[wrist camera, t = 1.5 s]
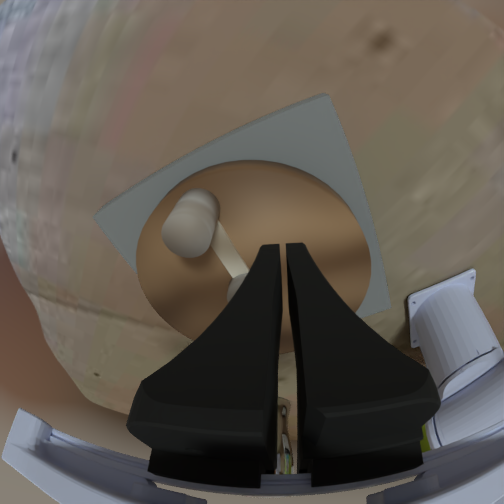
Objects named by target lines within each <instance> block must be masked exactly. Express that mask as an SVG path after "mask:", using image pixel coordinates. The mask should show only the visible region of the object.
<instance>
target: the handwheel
mask: <svg viewBox="0 0 504 504" xmlns="http://www.w3.org/2000/svg"><path fill="white" fill-rule="evenodd" d="M301 242H303V243H304V244H305V245H306V247H307V249H308V251H309V253H310V255H311V257H312V258H313V260H314V262H315V263H316V265H317V266H318V268H319V269H320V271H321V272H322V274H323V275H324V277H325V278H326V279H327V281H328V282H329V283H330V285H331V286H332V287H333V289H334V290H335V291H336V292H337V293H338V295H339V296H340V297H341V298H342V299H343V301H344V302H345V303H346V304H347V305H348V306H349V307H350V308H351V309H352V310H353V311H354V312H355V313H356V311H357V310H358V309H359V307H360V306H361V304H362V302H363V300H364V298H365V296H366V293H367V290H368V287H369V283H370V278H371V257H370V251H369V247H368V244H367V241H366V239H365V236H364V234H363V231H362V229H361V227H360V225H359V223H358V221H357V219H356V217H355V216H354V214H353V212H352V211H351V209H350V207H349V206H348V205H347V203H346V202H345V201H344V200H343V199H342V197H341V196H340V195H339V194H338V193H337V192H336V191H334V190H333V189H332V188H331V187H330V186H329V185H328V184H326V183H325V182H323V181H321V180H320V179H318V178H317V177H315V176H314V175H312V174H310V173H307V172H305V171H303V170H301V169H299V168H296V167H292V166H289V165H286V164H282V163H278V162H272V161H265V160H238V161H230V162H224V163H220V164H217V165H213V166H209V167H207V168H204V169H202V170H200V171H197V172H195V173H193V174H192V175H190V176H188V177H187V178H185V179H183V180H182V181H180V182H179V183H178V184H177V185H176V186H174V187H173V188H172V189H171V190H170V191H169V192H168V193H167V194H166V195H165V197H164V198H163V199H162V200H161V201H160V203H159V204H158V205H157V207H156V208H155V209H154V211H153V212H152V213H151V215H150V216H149V218H148V220H147V221H146V223H145V225H144V227H143V228H142V231H141V234H140V237H139V239H138V244H137V250H136V268H137V274H138V278H139V281H140V285H141V287H142V290H143V292H144V294H145V296H146V298H147V299H148V301H149V302H150V304H151V305H152V307H153V308H154V309H155V310H156V312H157V313H158V314H159V315H160V316H161V317H162V318H163V319H164V320H165V321H166V322H167V323H168V324H169V325H171V326H172V327H173V328H174V329H176V330H177V331H178V332H180V333H182V334H183V335H185V336H186V337H188V338H190V339H192V340H196V339H197V338H198V337H199V336H200V335H201V334H202V333H203V332H204V331H205V330H206V328H207V327H208V326H209V325H210V324H211V323H212V322H213V321H214V320H215V319H216V318H217V316H218V315H219V314H220V313H221V312H222V310H223V309H224V308H225V307H226V305H227V304H228V303H229V301H230V300H231V299H232V297H233V296H234V294H235V293H236V291H237V290H238V288H239V287H240V285H241V284H242V282H243V280H244V279H245V277H246V275H247V273H248V272H249V270H250V268H251V266H252V264H253V262H254V260H255V258H256V256H257V254H258V251H259V248H260V247H261V246H262V245H264V244H280V258H281V274H282V296H283V315H282V327H281V338H280V349H279V354H283V353H288V352H293V351H294V344H293V337H292V330H291V323H290V316H289V308H288V285H287V262H286V243H301Z"/></svg>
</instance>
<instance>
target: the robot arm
mask: <svg viewBox="0 0 504 504" xmlns="http://www.w3.org/2000/svg"><path fill="white" fill-rule="evenodd" d="M286 262H287V285H288V308H289V316H290V323H291V330H292V337H293V344H294V351H295V359H296V369H297V474H274V472H275V470H276V469H277V441H278V360H279V349H280V338H281V327H282V315H283V296H282V274H281V258H280V244H264V245H262V246H261V247H260V248H259V251H258V254H257V256H256V258H255V260H254V262H253V264H252V266H251V268H250V270H249V272H248V273H247V275H246V277H245V279H244V280H243V282H242V284H241V285H240V287H239V288H238V290H237V291H236V293H235V294H234V296H233V297H232V299H231V300H230V301H229V303H228V304H227V305H226V307H225V308H224V309H223V310H222V312H221V313H220V314H219V315H218V316H217V318H216V319H215V320H214V321H213V322H212V323H211V324H210V325H209V326H208V327H207V328H206V330H205V331H204V332H203V333H202V334H201V335H200V336H199V337H198V338H197V339H196V340H194V341H193V342H192V343H191V344H190V345H189V346H188V347H186V348H185V349H184V350H183V351H182V352H181V353H180V354H178V355H177V356H176V357H175V358H174V359H172V360H171V361H170V362H168V363H167V364H166V365H164V366H163V367H161V368H160V369H159V370H157V371H156V372H154V373H153V374H151V375H150V376H148V377H147V378H145V379H144V380H142V381H141V384H140V386H139V388H138V390H137V392H136V395H135V397H134V400H133V403H132V407H131V410H130V413H129V417H128V420H127V424H126V426H127V429H128V430H129V432H130V433H131V434H132V435H134V436H135V437H136V438H137V439H139V440H140V441H142V442H143V443H145V444H146V445H148V446H149V447H151V448H152V451H151V456H150V460H145V459H141V458H137V457H133V456H130V455H126V454H122V453H119V452H115V451H112V450H109V449H106V448H103V447H100V446H97V445H94V444H91V443H89V442H86V441H83V440H81V439H78V438H76V437H73V436H71V435H68V434H66V433H63V432H61V431H59V430H56V429H54V428H52V427H51V426H50V425H49V424H48V423H46V422H45V421H44V420H42V419H40V418H39V417H37V416H35V415H33V414H31V413H29V412H27V411H26V410H24V409H22V408H19V409H18V412H17V414H16V417H15V419H14V422H13V424H12V427H11V430H10V433H9V435H8V438H7V441H6V444H5V447H4V450H3V454H2V459H3V460H4V461H5V462H7V463H8V464H9V465H10V466H12V467H13V468H14V469H16V470H17V471H18V472H20V473H21V474H22V475H23V476H25V477H26V478H27V479H29V480H30V481H31V482H32V483H33V484H35V485H36V486H37V487H39V488H40V489H41V490H42V491H44V492H45V493H46V494H48V495H49V496H50V497H52V498H53V499H54V500H56V501H57V502H59V503H60V504H207V501H206V500H205V499H201V498H196V497H192V496H188V495H186V494H183V493H178V492H174V491H170V490H165V489H161V488H158V487H157V486H156V484H155V483H154V482H157V483H161V484H166V485H170V486H176V487H180V488H186V489H192V490H199V491H206V492H213V493H222V494H234V495H248V496H300V495H315V494H326V493H335V492H342V491H349V490H355V489H362V488H367V487H372V486H377V485H382V484H386V483H390V482H394V481H398V480H402V479H406V478H409V477H412V476H416V475H417V477H416V478H415V479H414V481H411V482H408V483H405V484H402V485H398V486H395V487H391V488H387V489H385V490H384V491H381V492H378V493H374V494H371V495H368V496H367V498H366V499H367V504H504V351H503V350H502V349H501V347H500V345H499V342H498V340H497V338H496V336H495V334H494V332H493V330H492V328H491V327H490V325H489V323H488V321H487V319H486V317H485V315H484V314H483V312H482V310H481V308H480V306H479V305H478V303H477V301H476V300H475V298H474V296H473V293H474V285H475V277H476V271H475V270H474V269H470V270H468V271H465V272H463V273H461V274H459V275H457V276H454V277H452V278H450V279H447V280H445V281H443V282H440V283H438V284H436V285H433V286H431V287H428V288H426V289H423V290H421V291H418V292H416V293H413V294H411V295H410V296H409V297H408V310H409V323H410V342H411V347H412V348H415V347H418V346H420V349H421V352H422V355H423V358H424V361H425V364H426V367H427V368H426V367H424V366H422V365H421V364H419V363H418V362H416V361H414V360H413V359H411V358H410V357H408V356H406V355H405V354H403V353H402V352H400V351H399V350H398V349H396V348H395V347H394V346H392V345H391V344H390V343H388V342H387V341H386V340H385V339H383V338H382V337H381V336H380V335H379V334H377V333H376V332H375V331H374V330H373V329H372V328H370V327H369V326H368V325H367V324H366V323H365V322H364V321H363V320H362V319H361V318H360V317H359V316H358V315H357V314H356V313H355V312H354V311H353V310H352V309H351V308H350V307H349V306H348V305H347V304H346V303H345V302H344V301H343V299H342V298H341V297H340V296H339V295H338V293H337V292H336V291H335V290H334V289H333V287H332V286H331V285H330V283H329V282H328V281H327V279H326V278H325V277H324V275H323V274H322V272H321V271H320V269H319V268H318V266H317V265H316V263H315V262H314V260H313V258H312V257H311V255H310V253H309V251H308V249H307V247H306V245H305V244H304V243H303V242H301V243H286ZM424 424H425V429H426V435H427V439H428V442H429V444H430V447H431V449H432V450H430V451H427V452H423V453H422V450H421V445H420V441H421V440H423V437H424V436H423V431H422V426H423V425H424ZM152 481H153V482H152Z"/></svg>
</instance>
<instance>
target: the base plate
mask: <svg viewBox="0 0 504 504" xmlns="http://www.w3.org/2000/svg"><path fill="white" fill-rule="evenodd" d="M238 160H265V161H272V162H278V163H282V164H286V165H289V166H292V167H296V168H299V169H301V170H303V171H305V172H307V173H310V174H312V175H314V176H315V177H317V178H318V179H320V180H321V181H323V182H325V183H326V184H328V185H329V186H330V187H331V188H332V189H333V190H334V191H336V192H337V193H338V194H339V195H340V196H341V197H342V199H343V200H344V201H345V202H346V203H347V205H348V206H349V207H350V209H351V211H352V212H353V214H354V216H355V217H356V219H357V221H358V223H359V225H360V227H361V229H362V231H363V234H364V236H365V239H366V241H367V244H368V247H369V251H370V257H371V278H370V283H369V287H368V290H367V293H366V296H365V298H364V300H363V302H362V304H361V306H360V307H359V309H358V310H357V311H356V314H357V315H358V316H359V317H360V318H363V317H366V316H369V315H372V314H375V313H378V312H381V311H383V310H386V309H389V308H391V303H390V298H389V292H388V287H387V281H386V276H385V271H384V266H383V262H382V257H381V253H380V248H379V244H378V240H377V236H376V232H375V228H374V224H373V220H372V217H371V213H370V209H369V206H368V202H367V199H366V196H365V192H364V189H363V186H362V182H361V179H360V176H359V173H358V170H357V167H356V164H355V161H354V158H353V155H352V153H351V150H350V147H349V144H348V141H347V139H346V136H345V133H344V131H343V128H342V126H341V123H340V121H339V118H338V116H337V113H336V111H335V108H334V106H333V104H332V101H331V99H330V97H329V95H328V94H325V93H321V94H319V95H316V96H313V97H310V98H308V99H305V100H303V101H300V102H297V103H295V104H292V105H290V106H287V107H285V108H282V109H280V110H278V111H275V112H273V113H270V114H268V115H266V116H264V117H261V118H259V119H257V120H255V121H252V122H250V123H248V124H246V125H244V126H242V127H239V128H237V129H235V130H233V131H231V132H229V133H227V134H225V135H223V136H221V137H219V138H217V139H215V140H213V141H211V142H209V143H207V144H205V145H203V146H201V147H199V148H198V149H196V150H194V151H192V152H190V153H188V154H187V155H185V156H183V157H181V158H179V159H178V160H176V161H174V162H172V163H171V164H169V165H167V166H165V167H164V168H162V169H160V170H159V171H157V172H155V173H154V174H152V175H150V176H149V177H147V178H145V179H144V180H142V181H141V182H139V183H137V184H136V185H134V186H133V187H131V188H130V189H128V190H126V191H125V192H123V193H122V194H120V195H119V196H117V197H116V198H114V199H113V200H111V201H110V202H108V203H107V204H106V205H104V206H103V207H102V208H101V209H100V210H99V211H98V212H97V213H96V214H95V215H94V216H93V218H94V220H95V221H96V223H97V224H98V225H99V227H100V228H101V229H102V231H103V232H104V233H105V235H106V236H107V237H108V239H109V240H110V241H111V242H112V244H113V245H114V246H115V248H116V249H117V250H118V251H119V253H120V254H121V255H122V256H123V258H124V259H125V260H126V261H127V263H128V264H129V265H130V266H131V268H132V269H133V270H134V271H135V272H136V274H137V268H136V250H137V244H138V239H139V237H140V234H141V231H142V228H143V227H144V225H145V223H146V221H147V220H148V218H149V216H150V215H151V213H152V212H153V211H154V209H155V208H156V207H157V205H158V204H159V203H160V201H161V200H162V199H163V198H164V197H165V195H166V194H167V193H168V192H169V191H170V190H171V189H172V188H173V187H174V186H176V185H177V184H178V183H179V182H180V181H182V180H183V179H185V178H187V177H188V176H190V175H192V174H193V173H195V172H197V171H200V170H202V169H204V168H207V167H209V166H213V165H217V164H220V163H224V162H230V161H238ZM137 275H138V274H137Z"/></svg>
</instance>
